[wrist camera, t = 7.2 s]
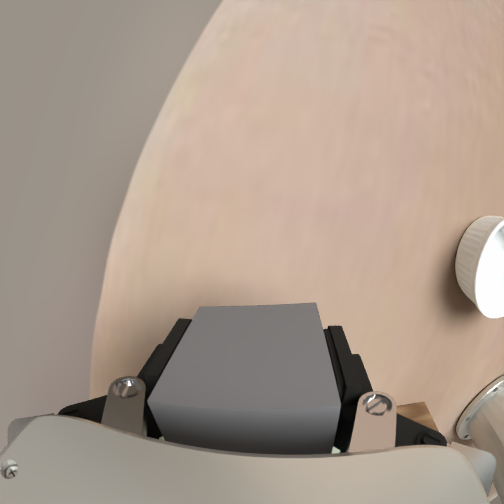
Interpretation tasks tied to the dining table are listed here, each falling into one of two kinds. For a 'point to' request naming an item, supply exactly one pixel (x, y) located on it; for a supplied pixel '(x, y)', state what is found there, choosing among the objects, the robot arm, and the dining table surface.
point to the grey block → (250, 382)
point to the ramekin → (483, 265)
